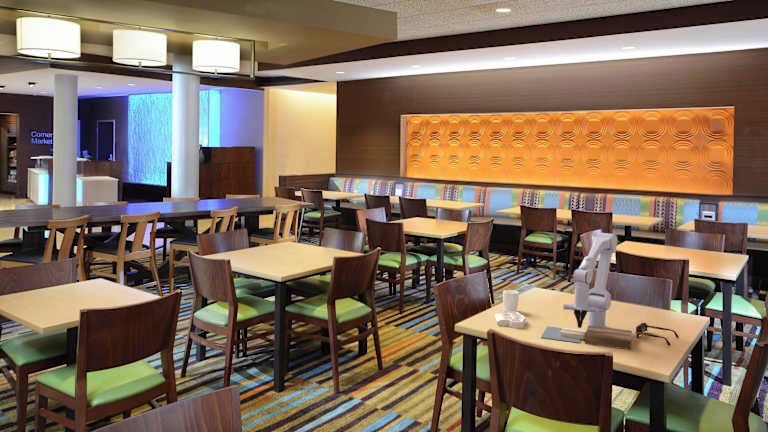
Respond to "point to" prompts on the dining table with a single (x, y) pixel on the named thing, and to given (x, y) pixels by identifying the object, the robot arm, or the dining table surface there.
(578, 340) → the mat
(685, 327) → the dining table surface
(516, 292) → the white cup
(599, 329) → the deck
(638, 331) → the sunglasses
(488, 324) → the dining table surface
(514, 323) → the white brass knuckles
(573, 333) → the cream rectangular block
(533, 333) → the dining table surface
